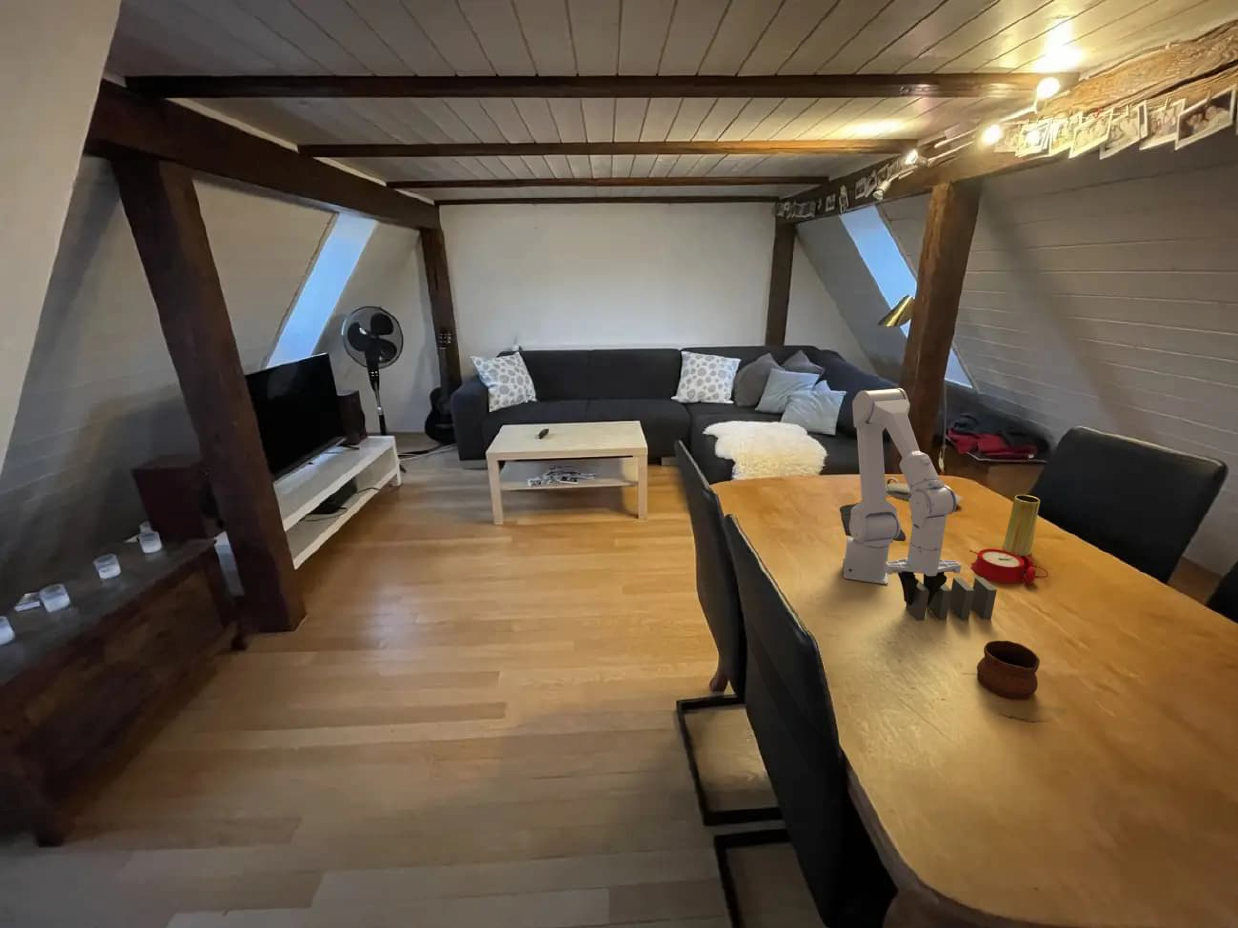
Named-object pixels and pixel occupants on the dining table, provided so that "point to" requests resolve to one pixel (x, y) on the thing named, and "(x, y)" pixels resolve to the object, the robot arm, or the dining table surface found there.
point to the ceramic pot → (1009, 671)
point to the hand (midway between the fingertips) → (916, 602)
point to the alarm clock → (1005, 566)
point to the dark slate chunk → (847, 516)
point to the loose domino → (919, 602)
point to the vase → (1021, 525)
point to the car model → (903, 490)
